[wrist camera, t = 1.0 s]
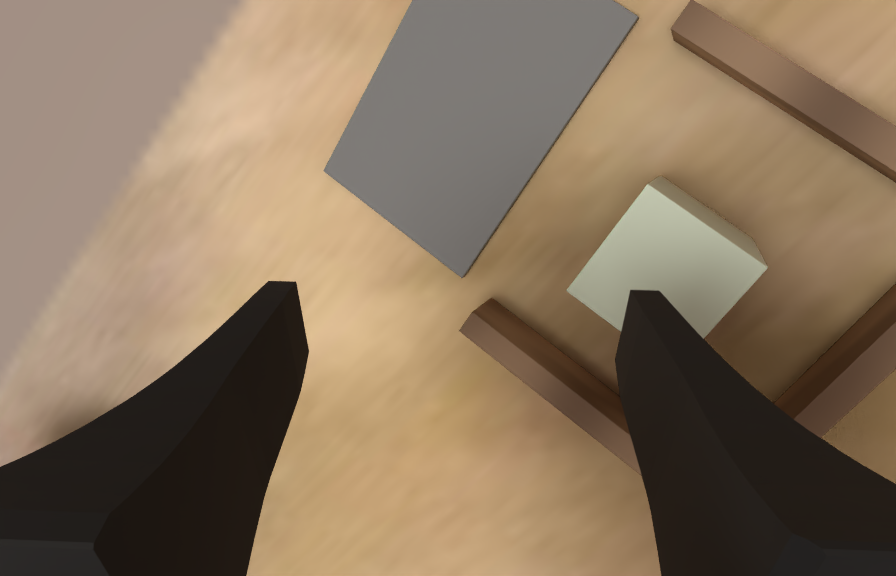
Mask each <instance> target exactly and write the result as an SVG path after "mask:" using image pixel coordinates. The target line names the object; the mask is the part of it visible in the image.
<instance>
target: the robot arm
mask: <svg viewBox="0 0 896 576" xmlns="http://www.w3.org/2000/svg"><path fill="white" fill-rule="evenodd" d="M308 353H309V349H308V344H307V338H306V333H305V328H304V322H303V317H302V311H301V306H300V300H299V295H298V290H297V284H296V282H286V281H268V282H267V283H266V284H265V285H264V286H263V287H262V288H261V289H259V290H258V291H257V292H256V293H255V294H254V295H253V296H252V297H251V298H250V299H249V300H248V301H247V302H246V303H245V304H244V305H243V306H242V307H241V308H240V309H239V310H238V311H237V312H235V313H234V314H233V315H232V316H231V317H230V318H229V319H228V320H227V321H226V322H225V323H224V324H223V325H222V326H221V327H220V328H218V329H217V330H216V331H215V332H214V333H213V334H212V335H211V336H210V337H209V338H208V339H206V340H205V341H204V342H203V343H202V344H201V345H199V346H198V347H197V348H196V349H195V350H193V351H192V352H191V353H190V354H189V355H187V356H186V357H185V358H184V359H183V360H181V361H180V362H179V363H178V364H177V365H176V366H174V367H173V368H172V369H170V370H169V371H168V372H166V373H165V374H164V375H162V376H161V377H160V378H158V379H157V380H156V381H154V382H153V383H151V384H150V385H148V386H147V387H146V388H144V389H143V390H141V391H140V392H138V393H137V394H136V395H134V396H133V397H131V398H129V399H128V400H126V401H125V402H123V403H121V404H120V405H118V406H117V407H115V408H113V409H112V410H110V411H108V412H107V413H105V414H103V415H102V416H100V417H98V418H97V419H95V420H93V421H92V422H90V423H88V424H87V425H85V426H83V427H81V428H79V429H78V430H76V431H74V432H72V433H70V434H68V435H66V436H64V437H63V438H61V439H59V440H57V441H55V442H53V443H51V444H49V445H47V446H45V447H43V448H41V449H39V450H37V451H35V452H33V453H30V454H28V455H26V456H24V457H22V458H20V459H17V460H15V461H13V462H11V463H8V464H6V465H4V466H1V467H0V576H246V575H247V570H248V565H249V561H250V556H251V552H252V547H253V543H254V538H255V534H256V530H257V525H258V521H259V517H260V513H261V509H262V505H263V500H264V496H265V493H266V490H267V487H268V483H269V480H270V477H271V474H272V471H273V468H274V466H275V463H276V460H277V457H278V454H279V452H280V449H281V446H282V443H283V440H284V438H285V435H286V432H287V429H288V426H289V424H290V421H291V418H292V415H293V412H294V409H295V407H296V404H297V401H298V398H299V395H300V392H301V387H302V383H303V378H304V374H305V369H306V364H307V359H308ZM615 363H616V371H617V378H618V386H619V392H620V399H621V404H622V407H623V411H624V415H625V418H626V422H627V425H628V429H629V433H630V436H631V440H632V443H633V447H634V450H635V454H636V457H637V461H638V464H639V468H640V471H641V475H642V478H643V482H644V485H645V489H646V493H647V497H648V501H649V505H650V510H651V515H652V521H653V526H654V532H655V538H656V544H657V550H658V556H659V562H660V569H661V576H896V484H895V483H893V482H891V481H889V480H888V479H886V478H884V477H882V476H881V475H879V474H877V473H875V472H874V471H872V470H870V469H868V468H867V467H865V466H863V465H862V464H860V463H858V462H857V461H855V460H853V459H852V458H850V457H849V456H847V455H845V454H844V453H842V452H841V451H839V450H837V449H836V448H834V447H833V446H832V445H830V444H829V443H827V442H826V441H824V440H823V439H821V438H820V437H818V436H817V435H815V434H814V433H812V432H811V431H809V430H808V429H806V428H805V427H804V426H802V425H801V424H799V423H798V422H797V421H795V420H794V419H793V418H791V417H790V416H789V415H788V414H786V413H785V412H784V411H782V410H781V409H780V408H779V407H777V406H776V405H775V404H773V403H772V402H771V401H770V400H768V399H767V398H766V397H765V396H764V395H762V394H761V393H760V392H759V391H758V390H756V389H755V388H754V387H753V386H752V385H751V384H750V383H749V382H747V381H746V380H745V379H744V378H743V377H742V376H741V375H740V374H739V373H738V372H736V371H735V370H734V369H733V368H732V367H731V366H730V365H729V364H728V363H727V362H726V361H725V360H724V359H723V358H722V357H721V356H720V355H719V354H718V353H717V352H716V351H715V350H714V349H713V348H712V347H711V346H710V345H709V344H708V343H707V342H706V341H705V340H704V339H703V338H702V337H701V336H700V335H699V334H698V333H697V332H696V330H695V329H694V328H693V327H692V326H691V325H690V324H689V323H688V322H687V321H686V319H685V318H684V317H683V316H682V315H681V314H680V313H679V312H678V311H677V309H676V308H675V307H674V306H673V305H672V304H671V303H670V302H669V301H668V299H667V298H666V297H665V296H664V295H663V294H662V293H661V292H660V291H659V290H630V293H629V298H628V303H627V307H626V312H625V317H624V321H623V326H622V330H621V335H620V340H619V344H618V349H617V354H616V358H615Z"/></svg>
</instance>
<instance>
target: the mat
mask: <svg viewBox="0 0 896 576" xmlns="http://www.w3.org/2000/svg"><path fill="white" fill-rule="evenodd" d="M638 19H639V17H638V16H637V15H635V14H634V13H632V12H630V11H629V10H627V9H626V8H624V7H623V6H621V5H619V4H618V3H616V2H615V1H613V0H412V2H411V4H410V6H409V8H408V10H407V12H406V14H405V15H404V17H403V19H402V21H401V23H400V25H399V27H398V29H397V31H396V33H395V35H394V37H393V39H392V40H391V42H390V44H389V46H388V48H387V50H386V52H385V54H384V56H383V58H382V60H381V62H380V63H379V65H378V67H377V69H376V71H375V73H374V75H373V77H372V79H371V81H370V83H369V85H368V86H367V88H366V90H365V92H364V94H363V96H362V98H361V100H360V102H359V104H358V106H357V108H356V109H355V111H354V113H353V115H352V117H351V119H350V121H349V123H348V125H347V127H346V129H345V131H344V132H343V134H342V136H341V138H340V140H339V142H338V144H337V146H336V148H335V150H334V152H333V154H332V155H331V157H330V159H329V161H328V163H327V165H326V167H325V169H324V172H325V173H327V174H328V175H329V176H331V177H332V178H333V179H335V180H336V181H337V182H338V183H340V184H341V185H342V186H344V187H345V188H346V189H347V190H349V191H350V192H351V193H353V194H354V195H355V196H356V197H358V198H359V199H360V200H362V201H363V202H364V203H366V204H367V205H368V206H369V207H371V208H372V209H373V210H375V211H376V212H377V213H378V214H380V215H381V216H382V217H384V218H385V219H386V220H387V221H389V222H390V223H391V224H393V225H394V226H395V227H397V228H398V229H399V230H400V231H402V232H403V233H404V234H406V235H407V236H408V237H409V238H411V239H412V240H413V241H415V242H416V243H417V244H418V245H420V246H421V247H422V248H424V249H425V250H426V251H428V252H429V253H430V254H431V255H433V256H434V257H435V258H437V259H438V260H439V261H440V262H442V263H443V264H444V265H446V266H447V267H448V268H450V269H451V270H452V271H453V272H455V273H456V274H457V275H459V276H460V277H461V278H463V277H464V276H465V275H466V273H467V272H468V271H469V269H470V268H471V266H472V265H473V263H474V262H475V260H476V259H477V257H478V256H479V254H480V253H481V251H482V250H483V248H484V247H485V245H486V244H487V242H488V241H489V239H490V238H491V236H492V235H493V233H494V232H495V231H496V229H497V228H498V226H499V225H500V223H501V222H502V220H503V219H504V217H505V216H506V214H507V213H508V211H509V210H510V208H511V207H512V205H513V204H514V202H515V201H516V199H517V198H518V196H519V195H520V193H521V192H522V191H523V189H524V188H525V186H526V185H527V183H528V182H529V180H530V179H531V177H532V176H533V174H534V173H535V171H536V170H537V168H538V167H539V165H540V164H541V162H542V161H543V159H544V158H545V156H546V155H547V153H548V152H549V151H550V149H551V148H552V146H553V145H554V143H555V142H556V140H557V139H558V137H559V136H560V134H561V133H562V131H563V130H564V128H565V127H566V125H567V124H568V122H569V121H570V119H571V118H572V116H573V115H574V114H575V112H576V111H577V109H578V108H579V106H580V105H581V103H582V102H583V100H584V99H585V97H586V96H587V94H588V93H589V91H590V90H591V88H592V87H593V85H594V84H595V82H596V81H597V79H598V78H599V76H600V75H601V74H602V72H603V71H604V69H605V68H606V66H607V65H608V63H609V62H610V60H611V59H612V57H613V56H614V54H615V53H616V51H617V50H618V48H619V47H620V45H621V44H622V42H623V41H624V39H625V38H626V36H627V35H628V34H629V32H630V31H631V29H632V28H633V26H634V25H635V23H636V22H637V20H638Z"/></svg>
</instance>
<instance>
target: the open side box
mask: <svg viewBox="0 0 896 576" xmlns="http://www.w3.org/2000/svg"><path fill="white" fill-rule="evenodd" d="M671 31H672V35H673V39H674V41H676V42H677V43H679V44H680V45H682V46H683V47H685V48H687V49H688V50H690V51H691V52H693V53H694V54H696V55H698V56H699V57H701V58H702V59H704V60H705V61H707V62H708V63H710V64H712V65H713V66H715V67H716V68H718V69H719V70H721V71H723V72H724V73H726V74H727V75H729V76H730V77H732V78H734V79H735V80H737V81H738V82H740V83H741V84H743V85H744V86H746V87H748V88H749V89H751V90H752V91H754V92H755V93H757V94H759V95H760V96H762V97H763V98H765V99H766V100H768V101H769V102H771V103H773V104H774V105H776V106H777V107H779V108H780V109H782V110H784V111H785V112H787V113H788V114H790V115H791V116H793V117H794V118H796V119H798V120H799V121H801V122H802V123H804V124H805V125H807V126H809V127H810V128H812V129H813V130H815V131H816V132H818V133H819V134H821V135H823V136H824V137H826V138H827V139H829V140H830V141H832V142H834V143H835V144H837V145H838V146H840V147H841V148H843V149H844V150H846V151H848V152H849V153H851V154H852V155H854V156H855V157H857V158H859V159H860V160H862V161H863V162H865V163H866V164H868V165H869V166H871V167H873V168H874V169H876V170H877V171H879V172H880V173H882V174H884V175H885V176H887V177H888V178H890V179H891V180H893V181H894V182H896V126H895V125H893V124H891V123H890V122H888V121H887V120H885V119H883V118H882V117H880V116H879V115H877V114H875V113H874V112H872V111H870V110H869V109H867V108H866V107H864V106H862V105H861V104H859V103H858V102H856V101H854V100H853V99H851V98H850V97H848V96H846V95H845V94H843V93H842V92H840V91H838V90H837V89H835V88H834V87H832V86H830V85H829V84H827V83H825V82H824V81H822V80H821V79H819V78H817V77H816V76H814V75H813V74H811V73H809V72H808V71H806V70H805V69H803V68H801V67H800V66H798V65H797V64H795V63H793V62H792V61H790V60H789V59H787V58H785V57H784V56H782V55H780V54H779V53H777V52H776V51H774V50H772V49H771V48H769V47H768V46H766V45H764V44H763V43H761V42H760V41H758V40H756V39H755V38H753V37H752V36H750V35H748V34H747V33H745V32H744V31H742V30H740V29H739V28H737V27H736V26H734V25H732V24H731V23H729V22H727V21H726V20H724V19H723V18H721V17H719V16H718V15H716V14H715V13H713V12H711V11H710V10H708V9H707V8H705V7H703V6H702V5H700V4H699V3H697V2H695V1H694V0H690V2H689V3H688V5H687V6H686V8H685V9H684V10H683V12H682V13H681V15H680V16H679V17H678V19H677V20H676V22H675V23H674V25H673V26H672V27H671ZM459 331H460V332H461V333H462V334H464V335H465V336H466V337H467V338H469V339H470V340H471V341H472V342H474V343H475V344H476V345H477V346H479V347H480V348H481V349H482V350H484V351H485V352H486V353H488V354H489V355H490V356H491V357H493V358H494V359H495V360H496V361H498V362H499V363H500V364H501V365H503V366H504V367H505V368H506V369H508V370H509V371H510V372H511V373H513V374H514V375H515V376H517V377H518V378H519V379H520V380H522V381H523V382H524V383H525V384H527V385H528V386H529V387H530V388H532V389H533V390H534V391H535V392H537V393H538V394H539V395H540V396H542V397H543V398H544V399H545V400H547V401H548V402H549V403H551V404H552V405H553V406H554V407H556V408H557V409H558V410H559V411H561V412H562V413H563V414H564V415H566V416H567V417H568V418H569V419H571V420H572V421H573V422H574V423H576V424H577V425H578V426H580V427H581V428H582V429H583V430H585V431H586V432H587V433H588V434H590V435H591V436H592V437H593V438H595V439H596V440H597V441H598V442H600V443H601V444H602V445H603V446H605V447H606V448H607V449H608V450H610V451H611V452H612V453H614V454H615V455H616V456H617V457H619V458H620V459H621V460H622V461H624V462H625V463H626V464H627V465H629V466H630V467H631V468H632V469H634V470H635V471H636V472H637V473H639V474H640V475H641V471H640V468H639V464H638V461H637V457H636V454H635V450H634V447H633V443H632V440H631V436H630V433H629V429H628V425H627V422H626V418H625V415H624V411H623V407H622V404H621V399H620V397H619V396H618V395H617V394H615V393H614V392H613V391H611V390H610V389H609V388H608V387H606V386H605V385H604V384H602V383H601V382H600V381H599V380H597V379H596V378H595V377H593V376H592V375H591V374H589V373H588V372H587V371H586V370H584V369H583V368H582V367H580V366H579V365H578V364H577V363H575V362H574V361H573V360H571V359H570V358H569V357H567V356H566V355H565V354H564V353H562V352H561V351H560V350H558V349H557V348H556V347H555V346H553V345H552V344H551V343H549V342H548V341H547V340H546V339H544V338H543V337H542V336H540V335H539V334H538V333H536V332H535V331H534V330H533V329H531V328H530V327H529V326H527V325H526V324H525V323H524V322H522V321H521V320H520V319H518V318H517V317H516V316H514V315H513V314H512V313H511V312H509V311H508V310H507V309H505V308H504V307H503V306H502V305H500V304H499V303H498V302H496V301H495V300H494V299H492V298H491V299H489V300H488V301H487V302H485V303H484V304H482V305H481V306H480V307H478V308H477V309H476V310H474V311H473V312H472V313H471V314H470V316H469V317H468V319H467V320H466V321H465V323H464V324H463V326H462V327H461V329H460V330H459ZM895 369H896V284H895V285H894V286H893V287H892V288H891V289H890V290H889V291H888V292H887V293H886V294H885V295H884V296H883V297H882V298H881V299H880V300H879V301H878V302H877V303H876V304H875V305H874V306H873V307H872V308H871V309H870V310H869V311H868V312H866V313H865V314H864V315H863V316H862V317H861V318H860V319H859V320H858V321H857V322H856V323H855V324H854V325H853V326H852V327H851V328H850V329H849V330H848V331H847V332H846V333H845V334H844V335H843V336H842V337H841V338H840V339H839V340H838V341H837V342H836V343H835V344H834V345H833V346H832V347H831V348H830V349H829V350H828V351H827V352H826V353H825V354H824V355H823V356H822V357H821V358H820V359H819V360H818V361H817V362H816V363H815V364H814V365H813V366H811V367H810V368H809V369H808V370H807V371H806V372H805V373H804V374H803V375H802V376H801V377H800V378H799V379H798V380H797V381H796V382H795V383H794V384H793V385H792V386H791V387H790V388H789V389H788V390H787V391H786V392H785V393H784V394H783V395H782V396H781V397H780V398H779V399H778V400H777V401H776V402H775V403H774V404H775V405H776V406H777V407H779V408H780V409H781V410H782V411H784V412H785V413H786V414H788V415H789V416H790V417H791V418H793V419H794V420H795V421H797V422H798V423H799V424H801V425H802V426H804V427H805V428H806V429H808V430H809V431H811V432H812V433H814V434H815V435H817V436H818V437H820V438H821V437H822V436H823V435H824V434H825V433H826V432H827V431H829V430H830V429H831V428H832V427H833V426H834V425H835V424H836V423H837V422H838V421H839V420H841V419H842V418H843V417H844V416H845V415H846V414H847V413H848V412H849V411H850V410H851V409H853V408H854V407H855V406H856V405H857V404H858V403H859V402H860V401H861V400H862V399H863V398H865V397H866V396H867V395H868V394H869V393H870V392H871V391H872V390H873V389H874V388H875V387H877V386H878V385H879V384H880V383H881V382H882V381H883V380H884V379H885V378H886V377H887V376H889V375H890V374H891V373H892V372H893V371H894V370H895ZM641 476H642V475H641Z"/></svg>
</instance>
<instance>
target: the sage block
mask: <svg viewBox="0 0 896 576" xmlns="http://www.w3.org/2000/svg"><path fill="white" fill-rule="evenodd" d="M767 268H768V266H767V265H766V263H765V261H764V259H763V257H762V255H761V253H760V251H759V249H758V247H757V246H756V244H755V242H754V240H753V238H751V237H750V236H748V235H747V234H746V233H744V232H743V231H741V230H740V229H738V228H737V227H735V226H734V225H732V224H731V223H730V222H728V221H727V220H725V219H724V218H722V217H721V216H719V215H718V214H717V213H715V212H714V211H712V210H711V209H709V208H708V207H706V206H705V205H703V204H702V203H701V202H699V201H698V200H696V199H695V198H693V197H692V196H690V195H689V194H687V193H686V192H685V191H683V190H682V189H680V188H679V187H677V186H676V185H674V184H673V183H671V182H670V181H669V180H667V179H666V178H664V177H663V176H661V175H660V176H658V177H657V178H655V179H654V180H653V181H651V182H650V183H648V184H647V185H646V187H645V188H644V189H643V191H642V192H641V193H640V195H639V196H638V197H637V198H636V200H635V201H634V202H633V204H632V205H631V206H630V208H629V209H628V210H627V212H626V213H625V214H624V216H623V217H622V218H621V219H620V221H619V222H618V223H617V225H616V226H615V227H614V229H613V230H612V231H611V233H610V234H609V235H608V236H607V238H606V239H605V240H604V242H603V243H602V244H601V246H600V247H599V248H598V250H597V251H596V252H595V254H594V255H593V256H592V257H591V259H590V260H589V261H588V263H587V264H586V265H585V267H584V268H583V269H582V271H581V272H580V273H579V274H578V276H577V277H576V278H575V280H574V281H573V282H572V284H571V285H570V286H569V288H568V289H567V290H566V291H567V292H568V293H570V294H571V295H572V296H574V297H575V298H576V299H578V300H579V301H580V302H582V303H583V304H584V305H586V306H587V307H588V308H590V309H591V310H592V311H594V312H595V313H596V314H598V315H599V316H600V317H602V318H603V319H604V320H606V321H607V322H608V323H610V324H611V325H612V326H614V327H615V328H616V329H618V330H619V331H620V332H621V330H622V326H623V321H624V317H625V312H626V307H627V303H628V298H629V293H630V290H659V291H660V292H661V293H662V294H663V295H664V296H665V297H666V298H667V299H668V301H669V302H670V303H671V304H672V305H673V306H674V307H675V308H676V309H677V311H678V312H679V313H680V314H681V315H682V316H683V317H684V318H685V319H686V321H687V322H688V323H689V324H690V325H691V326H692V327H693V328H694V329H695V330H696V332H697V333H698V334H699V335H700V336H701V337H702V338H703V339H704V338H705V337H706V336H707V334H708V333H709V332H710V331H711V330H712V329H713V328H714V327H715V326H716V325H717V323H718V322H719V321H720V320H721V319H722V318H723V317H724V316H725V315H726V313H727V312H728V311H729V310H730V309H731V308H732V307H733V306H734V305H735V304H736V302H737V301H738V300H739V299H740V298H741V297H742V296H743V295H744V294H745V293H746V291H747V290H748V289H749V288H750V287H751V286H752V285H753V284H754V283H755V282H756V280H757V279H758V278H759V277H760V276H761V275H762V274H763V273H764V272H765V270H766V269H767Z"/></svg>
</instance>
